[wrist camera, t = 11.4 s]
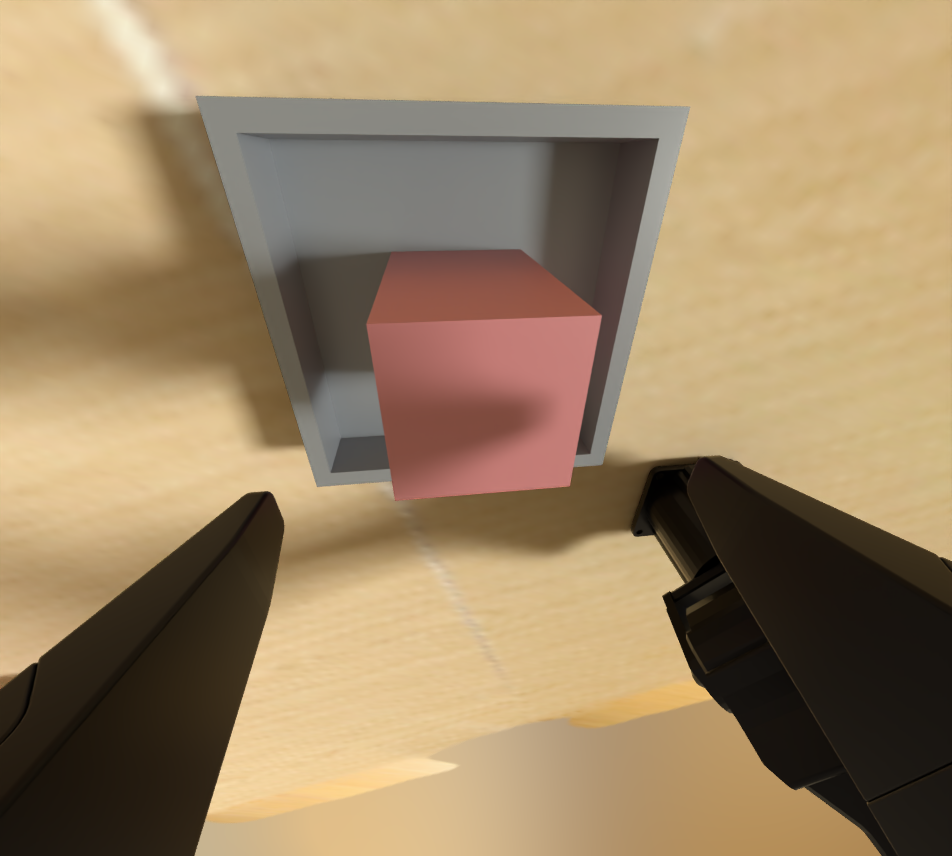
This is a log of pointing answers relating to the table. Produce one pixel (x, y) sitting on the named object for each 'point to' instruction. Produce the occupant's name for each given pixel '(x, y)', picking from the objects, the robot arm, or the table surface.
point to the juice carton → (479, 372)
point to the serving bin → (433, 231)
